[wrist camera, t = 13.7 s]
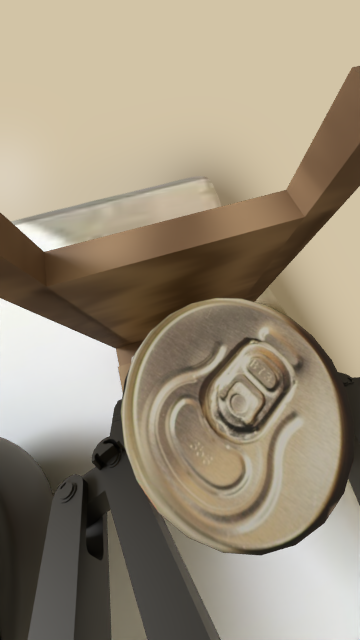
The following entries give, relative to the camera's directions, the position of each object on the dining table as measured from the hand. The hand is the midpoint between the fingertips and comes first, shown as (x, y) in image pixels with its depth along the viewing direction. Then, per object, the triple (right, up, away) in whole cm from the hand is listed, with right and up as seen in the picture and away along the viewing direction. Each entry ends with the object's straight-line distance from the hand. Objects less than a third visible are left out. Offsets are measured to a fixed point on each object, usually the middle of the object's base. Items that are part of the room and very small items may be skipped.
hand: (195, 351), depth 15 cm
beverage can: (+1, -4, +3) cm, 6 cm away
